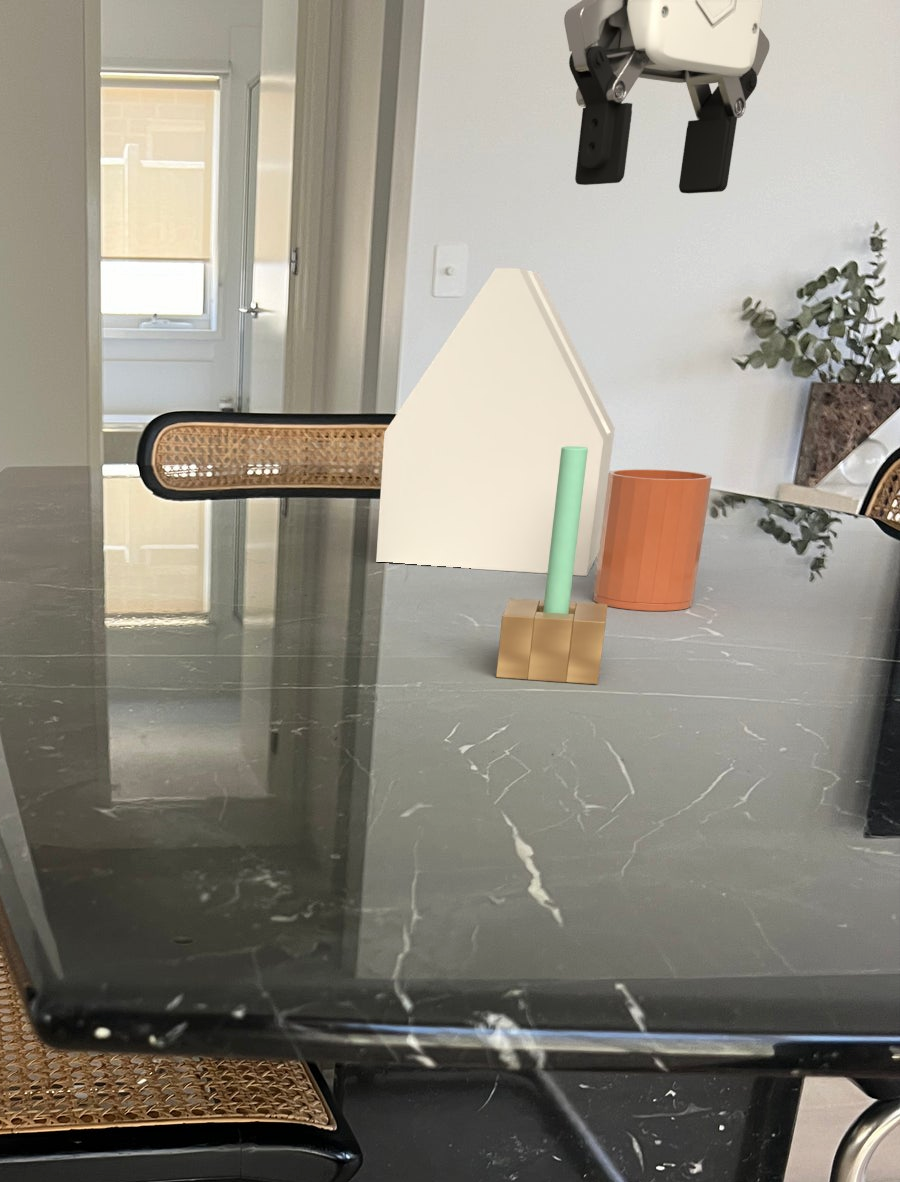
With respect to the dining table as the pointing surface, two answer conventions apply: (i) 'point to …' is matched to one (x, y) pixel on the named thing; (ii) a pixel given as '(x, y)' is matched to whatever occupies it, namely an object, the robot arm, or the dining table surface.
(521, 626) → the straw holder
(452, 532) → the white house shaped block
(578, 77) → the robot arm
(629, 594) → the cup
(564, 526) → the straw
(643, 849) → the dining table surface
